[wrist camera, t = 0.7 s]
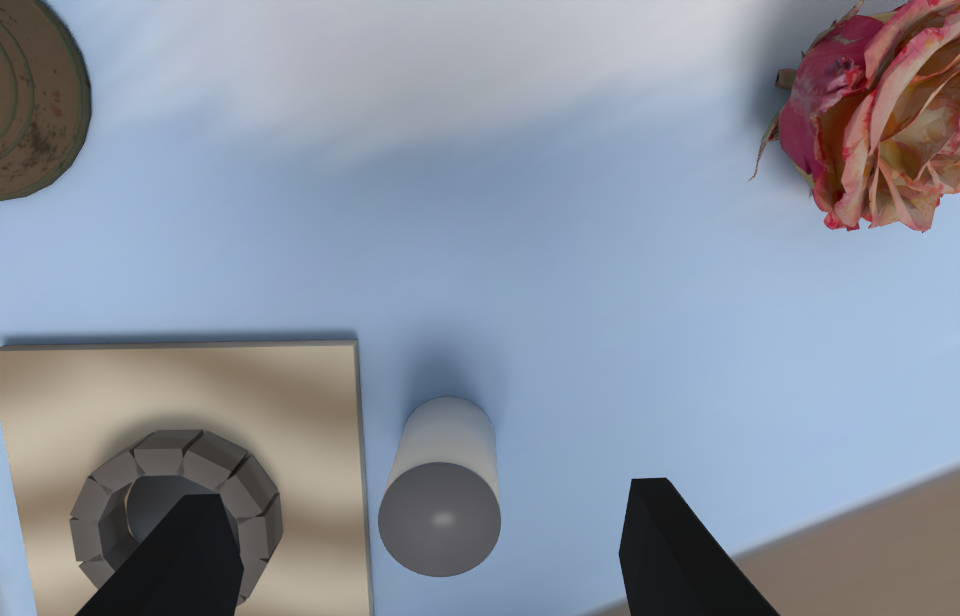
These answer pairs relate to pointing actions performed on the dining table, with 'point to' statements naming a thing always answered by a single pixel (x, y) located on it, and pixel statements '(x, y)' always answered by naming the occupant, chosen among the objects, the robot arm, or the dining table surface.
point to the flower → (877, 115)
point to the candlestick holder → (38, 98)
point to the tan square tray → (192, 463)
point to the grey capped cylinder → (442, 490)
